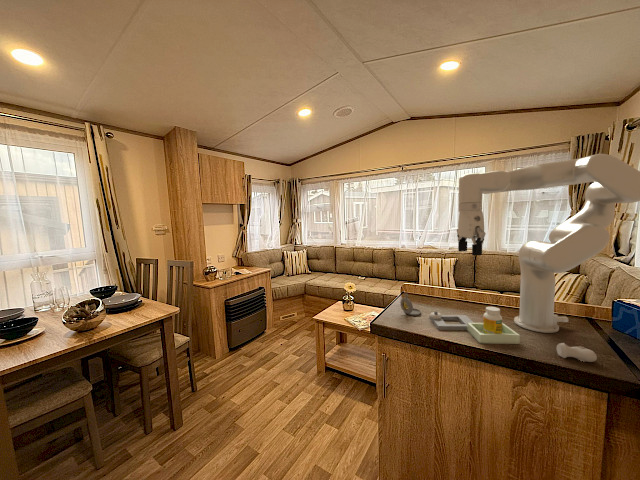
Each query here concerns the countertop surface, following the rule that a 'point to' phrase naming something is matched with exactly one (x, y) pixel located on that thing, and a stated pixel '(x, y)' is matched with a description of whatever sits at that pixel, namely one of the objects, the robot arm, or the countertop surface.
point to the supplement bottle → (492, 321)
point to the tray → (493, 335)
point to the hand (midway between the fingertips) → (469, 253)
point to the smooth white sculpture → (576, 352)
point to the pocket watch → (409, 307)
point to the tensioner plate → (441, 325)
